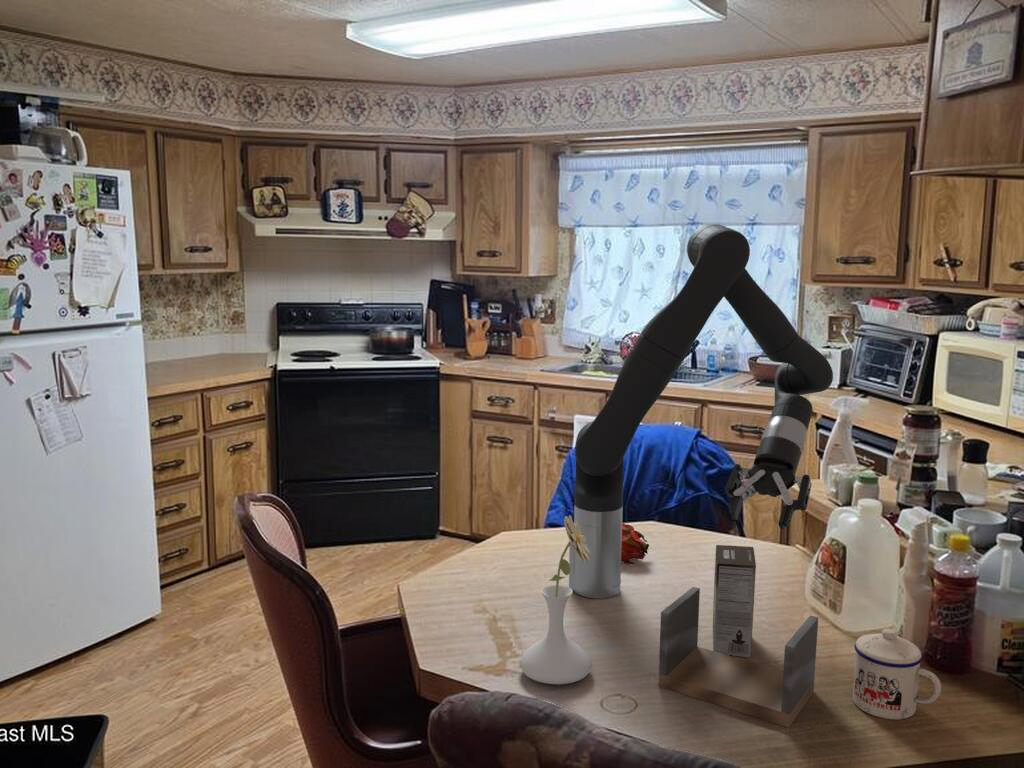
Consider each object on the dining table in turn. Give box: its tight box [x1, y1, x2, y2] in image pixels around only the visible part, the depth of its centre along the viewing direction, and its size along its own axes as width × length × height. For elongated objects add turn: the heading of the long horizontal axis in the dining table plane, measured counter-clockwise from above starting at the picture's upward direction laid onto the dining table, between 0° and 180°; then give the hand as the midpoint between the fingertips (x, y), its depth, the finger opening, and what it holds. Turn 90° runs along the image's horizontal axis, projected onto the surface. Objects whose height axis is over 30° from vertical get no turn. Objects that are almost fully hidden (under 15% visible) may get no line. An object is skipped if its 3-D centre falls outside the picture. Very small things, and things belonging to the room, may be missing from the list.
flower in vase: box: [519, 514, 593, 685], centre depth 135 cm, size 13×11×25 cm
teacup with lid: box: [852, 628, 942, 720], centre depth 126 cm, size 12×9×12 cm
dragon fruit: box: [621, 521, 650, 565], centre depth 185 cm, size 8×8×12 cm
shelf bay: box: [658, 586, 819, 728], centre depth 131 cm, size 20×12×12 cm, turn 55°
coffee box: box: [712, 544, 757, 658], centre depth 146 cm, size 9×6×16 cm
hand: (757, 522), depth 152 cm, fingers open, 8 cm apart
